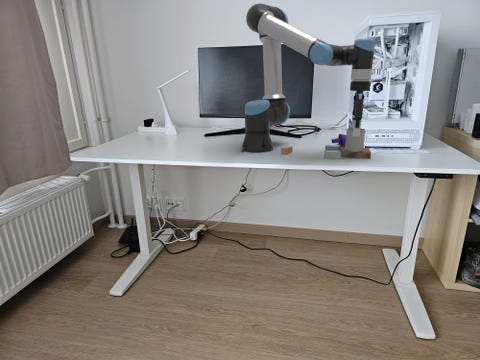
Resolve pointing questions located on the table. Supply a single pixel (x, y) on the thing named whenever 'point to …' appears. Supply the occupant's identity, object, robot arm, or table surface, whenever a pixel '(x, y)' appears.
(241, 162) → the table surface
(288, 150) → the brick terracotta
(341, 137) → the toy
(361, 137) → the cup
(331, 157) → the brick sage
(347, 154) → the slab
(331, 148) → the brick blue
